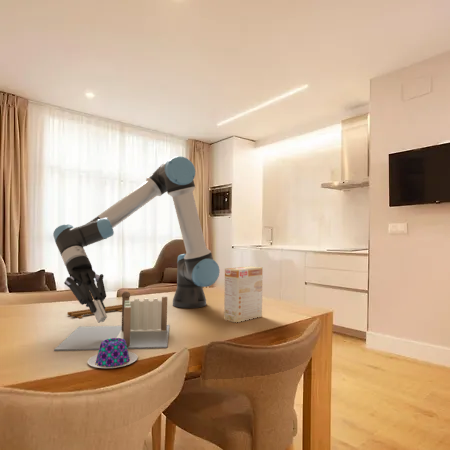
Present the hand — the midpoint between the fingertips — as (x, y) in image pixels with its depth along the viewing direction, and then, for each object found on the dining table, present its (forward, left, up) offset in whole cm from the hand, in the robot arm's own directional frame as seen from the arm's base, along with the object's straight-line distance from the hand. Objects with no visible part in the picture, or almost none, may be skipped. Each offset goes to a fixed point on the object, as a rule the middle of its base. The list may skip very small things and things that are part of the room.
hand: (102, 319), depth 105 cm
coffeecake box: (-48, -20, -5) cm, 53 cm away
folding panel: (-8, +5, -4) cm, 10 cm away
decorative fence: (+8, -34, -6) cm, 36 cm away
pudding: (-7, +21, -6) cm, 23 cm away
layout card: (-5, +1, -5) cm, 7 cm away
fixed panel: (-14, -4, -5) cm, 15 cm away
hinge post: (-6, -4, -5) cm, 9 cm away
